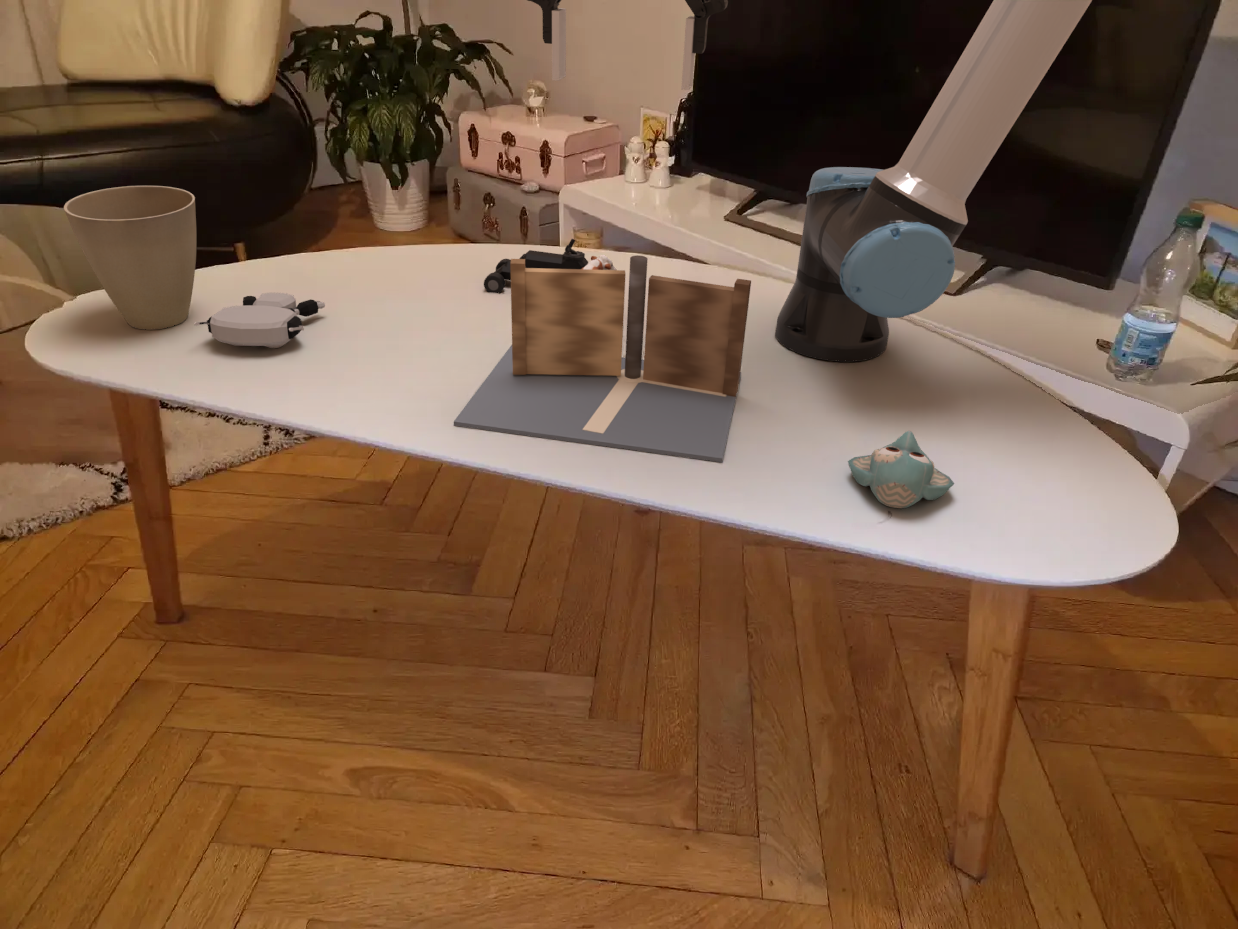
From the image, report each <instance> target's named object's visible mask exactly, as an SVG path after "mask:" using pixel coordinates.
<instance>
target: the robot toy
mask: <svg viewBox="0 0 1238 929" xmlns="http://www.w3.org/2000/svg"><path fill="white" fill-rule="evenodd" d="M242 299H243V300H242V305H234V306H233V305H232V306H227V307H223V308H222V309H220V310H218V311H217V312H216V313H214V314H212V315H211V316H210V317H209V318H208V319H207V320H206V321H194V323H193V324H194V326H196V327H197V326H200V325H207V330H208V333H210V334H211V336H212V338H213V339H215V340H217V341H218V342H220V343H225V344H229V345H231V346H235V347H241V346H244V347H245V346H246V347H247V346H249V347H250V346H251V347H260V346H261V347H267V348H270V349H278V348H279V349H280V348H281V347H283V346H285V345H286V344H287V343H288V342H290V341H291V340H292V339H294V338H295V337H296V336H298V334H300V333H301V331H304V328H305V327H304V325H303V322H302V319H301V318H300V317H299V316H303V317H311V316H313V315H316V314H319V309H321V310H322V309H323V308H325V307H326V303H325V301H324V302H323V301H319V300H314V299H307V300H303V301H301V302H298V304H297V302H296V298H295V296H294V295H293V294H291V293H287V292H286V293H285V292H265V293H261V294H260V296H258V297H257V298H256V296H254V295H253V296H252V295H246V296H244V297H243V298H242Z"/></svg>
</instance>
